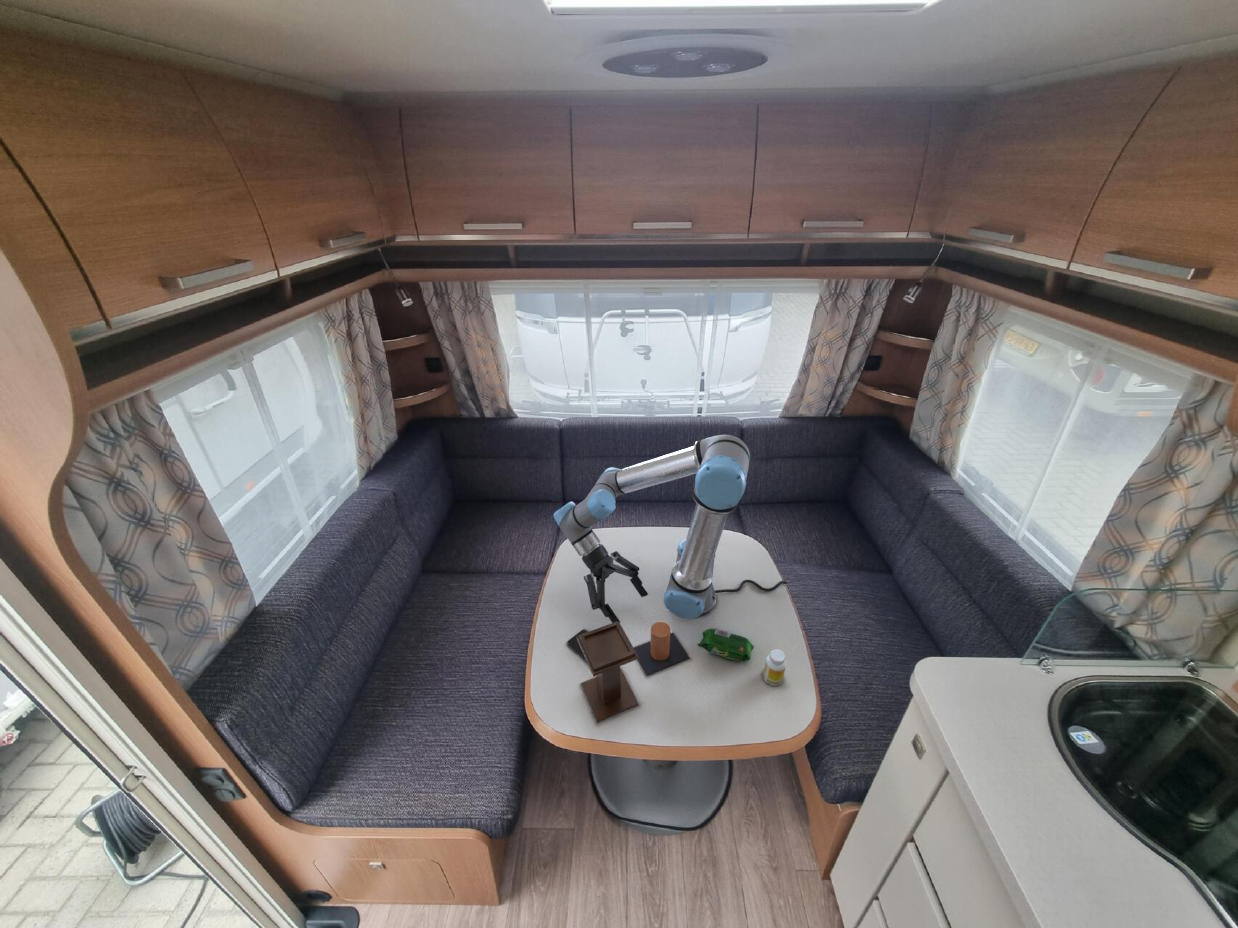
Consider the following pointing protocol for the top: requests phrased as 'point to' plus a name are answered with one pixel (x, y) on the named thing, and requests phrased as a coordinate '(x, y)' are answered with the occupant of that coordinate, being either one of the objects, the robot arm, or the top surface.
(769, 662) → the supplement bottle
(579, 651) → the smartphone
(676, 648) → the mat
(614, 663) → the stand
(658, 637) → the tin
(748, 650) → the snack package
